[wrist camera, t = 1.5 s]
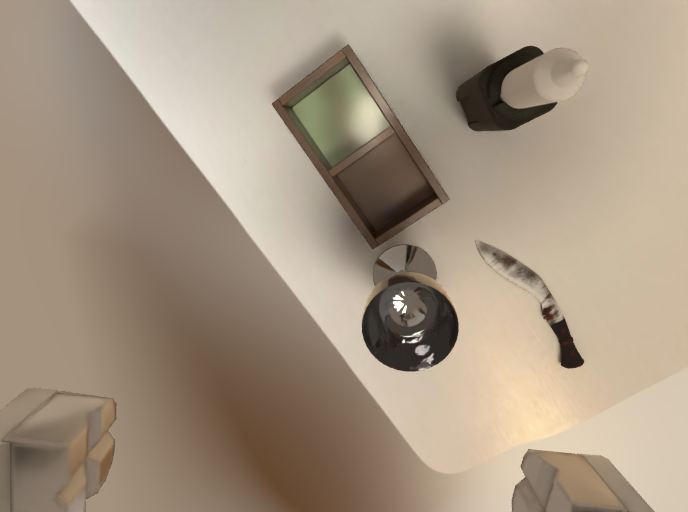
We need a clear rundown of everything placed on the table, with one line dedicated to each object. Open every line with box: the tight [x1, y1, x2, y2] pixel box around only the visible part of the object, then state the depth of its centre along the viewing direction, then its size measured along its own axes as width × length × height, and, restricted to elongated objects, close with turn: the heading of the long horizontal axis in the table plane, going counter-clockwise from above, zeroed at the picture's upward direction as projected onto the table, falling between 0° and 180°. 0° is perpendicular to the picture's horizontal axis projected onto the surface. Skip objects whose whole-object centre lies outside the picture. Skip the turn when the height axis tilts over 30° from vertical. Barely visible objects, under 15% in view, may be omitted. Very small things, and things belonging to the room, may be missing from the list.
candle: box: [456, 46, 589, 131], centre depth 36 cm, size 5×5×25 cm
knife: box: [475, 241, 584, 368], centre depth 52 cm, size 18×1×5 cm
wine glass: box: [362, 245, 458, 371], centre depth 46 cm, size 8×8×15 cm
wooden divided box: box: [272, 44, 449, 249], centre depth 48 cm, size 9×17×5 cm, turn 35°
